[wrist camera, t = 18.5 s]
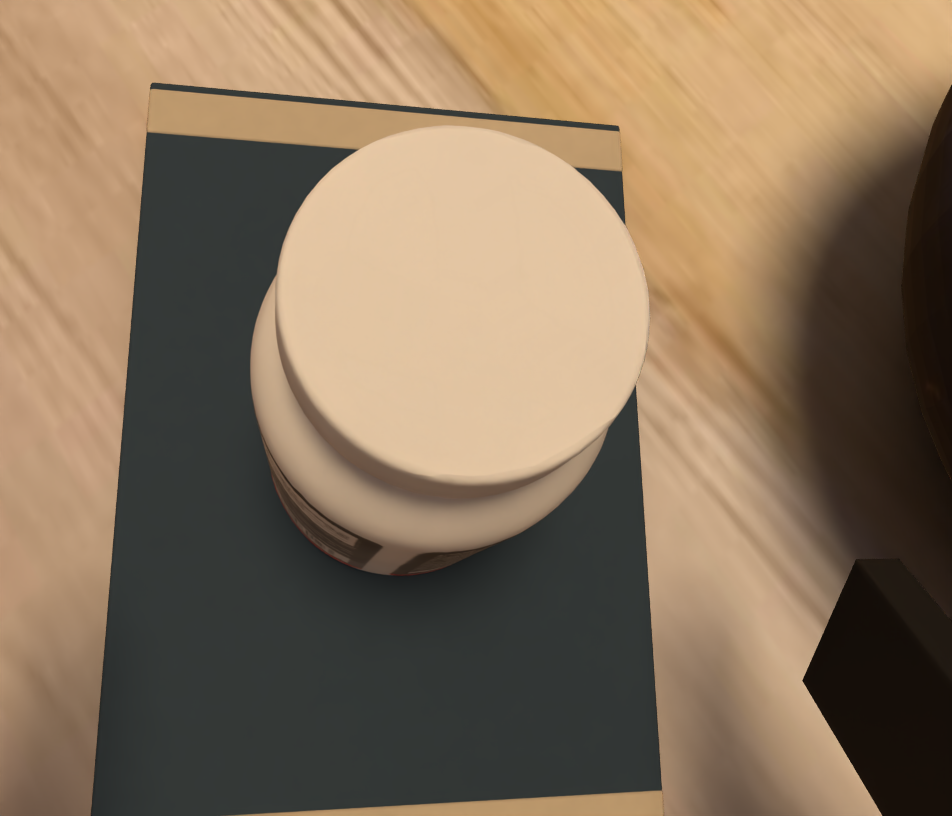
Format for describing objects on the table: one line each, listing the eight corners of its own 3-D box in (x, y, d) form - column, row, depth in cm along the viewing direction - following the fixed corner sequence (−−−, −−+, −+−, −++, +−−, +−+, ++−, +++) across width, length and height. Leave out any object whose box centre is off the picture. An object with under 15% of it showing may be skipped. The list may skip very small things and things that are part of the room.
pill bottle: (525, 353, 21) (704, 133, 12) (507, 589, 20) (694, 557, 10) (287, 317, 20) (271, 47, 11) (250, 563, 19) (192, 500, 9)
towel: (656, 851, 19) (668, 858, 19) (90, 892, 17) (82, 902, 17) (612, 136, 24) (620, 124, 23) (154, 95, 22) (149, 80, 21)
